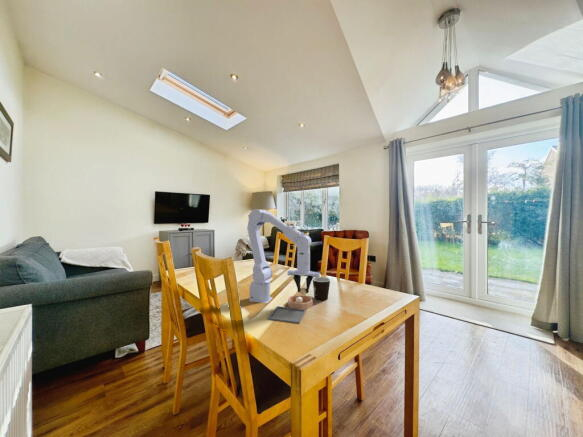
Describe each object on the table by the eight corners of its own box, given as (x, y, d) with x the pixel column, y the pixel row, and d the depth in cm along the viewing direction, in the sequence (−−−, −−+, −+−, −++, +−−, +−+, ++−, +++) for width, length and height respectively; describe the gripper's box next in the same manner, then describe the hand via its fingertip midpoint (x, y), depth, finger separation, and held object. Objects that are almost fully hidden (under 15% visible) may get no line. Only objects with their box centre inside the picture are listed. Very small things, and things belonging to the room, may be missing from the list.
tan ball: (299, 295, 104) (299, 288, 104) (300, 293, 108) (300, 286, 108) (306, 296, 104) (306, 289, 104) (307, 293, 107) (307, 286, 107)
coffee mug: (329, 303, 110) (329, 282, 110) (311, 301, 112) (311, 281, 112) (330, 295, 121) (330, 276, 121) (313, 293, 123) (314, 275, 123)
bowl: (285, 308, 103) (285, 302, 103) (291, 300, 114) (291, 293, 114) (309, 311, 100) (309, 304, 100) (314, 302, 111) (314, 296, 111)
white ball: (295, 304, 107) (294, 297, 107) (296, 302, 110) (296, 295, 110) (302, 305, 106) (301, 298, 106) (303, 302, 109) (303, 295, 109)
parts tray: (267, 320, 92) (267, 317, 92) (277, 308, 103) (277, 306, 103) (299, 325, 88) (299, 322, 88) (305, 312, 100) (306, 309, 100)
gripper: (285, 262, 103) (285, 293, 104) (318, 265, 100) (317, 296, 100) (289, 259, 110) (289, 288, 110) (320, 261, 106) (320, 291, 107)
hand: (303, 292), depth 106 cm, fingers closed on tan ball, 3 cm apart
